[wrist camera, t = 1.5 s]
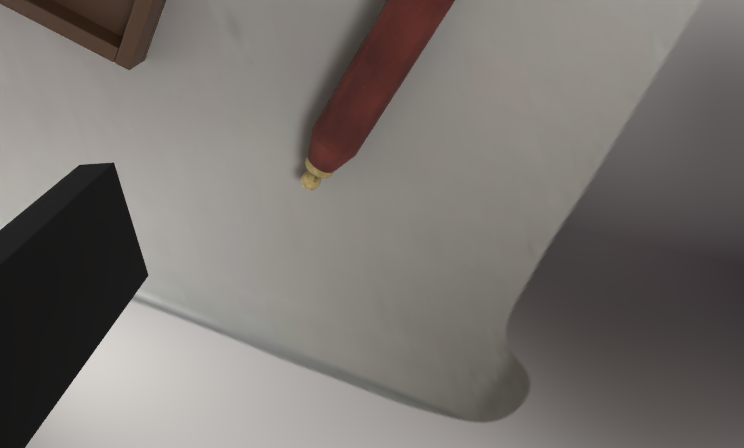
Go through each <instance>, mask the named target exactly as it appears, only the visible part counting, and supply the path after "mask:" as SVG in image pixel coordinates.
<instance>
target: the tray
mask: <svg viewBox="0 0 744 448" xmlns="http://www.w3.org/2000/svg"><path fill="white" fill-rule="evenodd" d="M165 1H166V0H0V4H2V5H4V6H6V7H8V8H10V9H12V10H14V11H16V12H18V13H20V14H22V15H23V16H25V17H27V18H29V19H31V20H33V21H35V22H37V23H39V24H41V25H43V26H45V27H47V28H49V29H50V30H52V31H54V32H56V33H58V34H60V35H62V36H64V37H66V38H68V39H70V40H72V41H74V42H76V43H78V44H79V45H81V46H83V47H85V48H87V49H89V50H91V51H93V52H95V53H97V54H99V55H101V56H103V57H105V58H106V59H108V60H110V61H112V62H115V63H116V64H118V65H120V66H122V67H124V68H126V69H128V70H130V69H132V68H133V67H135V66H136V65H138V64H139V63H141V62H143V61H144V60H145V57H146V54H147V52H148V49H149V46H150V43H151V40H152V38H153V35H154V32H155V29H156V27H157V24H158V21H159V18H160V15H161V13H162V10H163V7H164V4H165Z"/></svg>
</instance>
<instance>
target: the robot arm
mask: <svg viewBox="0 0 744 448" xmlns="http://www.w3.org/2000/svg"><path fill="white" fill-rule="evenodd" d="M147 277H148V272H147V269H146V266H145V263H144V259H143V256H142V253H141V249H140V246H139V243H138V240H137V236H136V233H135V230H134V227H133V223H132V220H131V217H130V214H129V210H128V207H127V204H126V201H125V197H124V194H123V191H122V188H121V184H120V181H119V178H118V175H117V171H116V168H115V165H114V163H102V164H87V165H79V166H78V167H76V168H75V169H74V170H73V171H71V172H70V173H69V174H68V175H67V176H65V177H64V178H63V179H62V180H61V181H59V182H58V183H57V184H56V185H55V186H53V187H52V188H51V189H50V190H48V191H47V192H46V193H45V194H44V195H42V196H41V197H40V198H39V199H38V200H36V201H35V202H34V203H33V204H31V205H30V206H29V207H28V208H27V209H25V210H24V211H23V212H22V213H21V214H19V215H18V216H17V217H16V218H14V219H13V220H12V221H11V222H10V223H8V224H7V225H6V226H5V227H4V228H2V229H1V230H0V448H25V447H26V445H27V444H28V443H29V441H30V440H31V438H32V437H33V435H34V434H35V433H36V431H37V430H38V429H39V427H40V426H41V424H42V423H43V422H44V420H45V419H46V417H47V416H48V415H49V413H50V412H51V410H52V409H53V408H54V406H55V405H56V404H57V402H58V401H59V399H60V398H61V396H62V395H63V394H64V392H65V391H66V390H67V388H68V387H69V385H70V384H71V383H72V381H73V379H74V378H75V377H76V376H77V374H78V373H79V371H80V370H81V369H82V367H83V366H84V365H85V363H86V362H87V360H88V359H89V357H90V356H91V355H92V353H93V352H94V351H95V349H96V348H97V346H98V345H99V344H100V342H101V341H102V339H103V338H104V337H105V335H106V334H107V332H108V331H109V330H110V328H111V327H112V325H113V324H114V323H115V321H116V320H117V318H118V317H119V316H120V314H121V313H122V312H123V310H124V309H125V307H126V306H127V305H128V303H129V302H130V300H131V299H132V298H133V296H134V295H135V293H136V292H137V291H138V289H139V288H140V286H141V285H142V284H143V282H144V281H145V279H146V278H147Z"/></svg>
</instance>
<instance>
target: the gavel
mask: <svg viewBox="0 0 744 448" xmlns="http://www.w3.org/2000/svg"><path fill="white" fill-rule="evenodd" d="M454 1H455V0H388V1H387V2H386V4H385V6H384V8H383V9H382V11H381V13H380V14H379V16H378V18H377V20H376V21H375V23H374V25H373V26H372V28H371V30H370V32H369V33H368V35H367V37H366V38H365V40H364V42H363V44H362V45H361V47H360V49H359V50H358V52H357V54H356V56H355V57H354V59H353V61H352V62H351V64H350V66H349V67H348V69H347V71H346V73H345V74H344V76H343V78H342V79H341V81H340V83H339V85H338V86H337V88H336V90H335V91H334V93H333V95H332V97H331V98H330V100H329V102H328V103H327V105H326V107H325V109H324V110H323V112H322V114H321V115H320V117H319V119H318V120H317V122H316V124H315V126H314V127H313V130H312V135H311V141H310V147H309V153H308V156H307V158H306V160H305V164H306V168H307V169H308V171H306V172H305V173H304V174H303V175H302V178H301V184H302V185H303V187H305V188H306V189H308V190H313V189H316V188H317V187H318V186H319V184H320V181H321V178H328V177H330V176H331V175H332V173H333V172H334V171H335V170H337V169H338V168H339V167H341V166H342V165H343V164H345V163H346V162H347V161H349V160H350V159H351V158H353V157H354V156H355V155H356V153H357V152H358V150H359V149H360V147H361V146H362V144H363V143H364V141H365V139H366V138H367V136H368V135H369V133H370V132H371V130H372V129H373V127H374V125H375V124H376V122H377V121H378V119H379V118H380V116H381V115H382V113H383V111H384V110H385V108H386V107H387V105H388V104H389V102H390V101H391V99H392V97H393V96H394V94H395V93H396V91H397V90H398V88H399V87H400V85H401V83H402V82H403V80H404V79H405V77H406V76H407V74H408V73H409V71H410V69H411V68H412V66H413V65H414V63H415V62H416V60H417V59H418V57H419V55H420V54H421V52H422V51H423V49H424V48H425V46H426V45H427V43H428V41H429V40H430V38H431V37H432V35H433V34H434V32H435V31H436V29H437V27H438V26H439V24H440V23H441V21H442V20H443V18H444V16H445V15H446V13H447V12H448V10H449V9H450V7H451V6H452V4H453V2H454Z"/></svg>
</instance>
